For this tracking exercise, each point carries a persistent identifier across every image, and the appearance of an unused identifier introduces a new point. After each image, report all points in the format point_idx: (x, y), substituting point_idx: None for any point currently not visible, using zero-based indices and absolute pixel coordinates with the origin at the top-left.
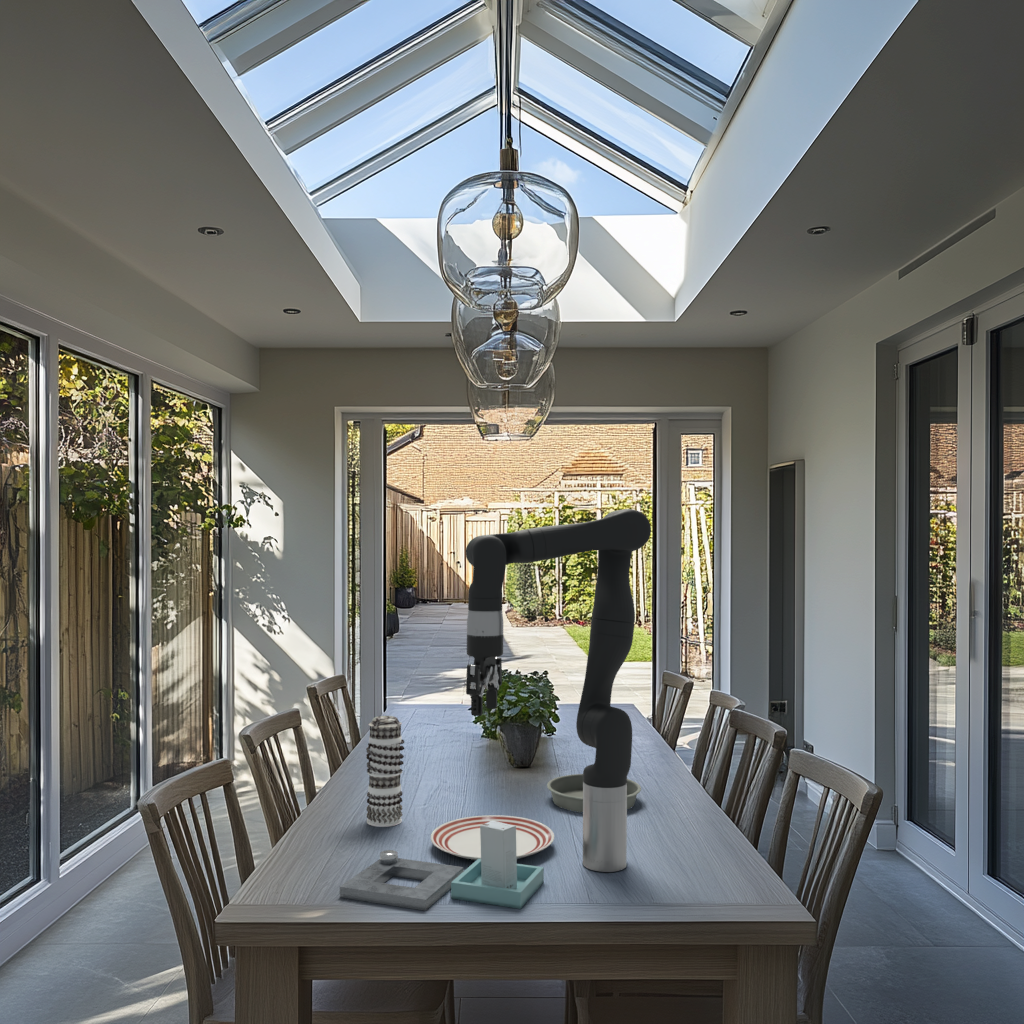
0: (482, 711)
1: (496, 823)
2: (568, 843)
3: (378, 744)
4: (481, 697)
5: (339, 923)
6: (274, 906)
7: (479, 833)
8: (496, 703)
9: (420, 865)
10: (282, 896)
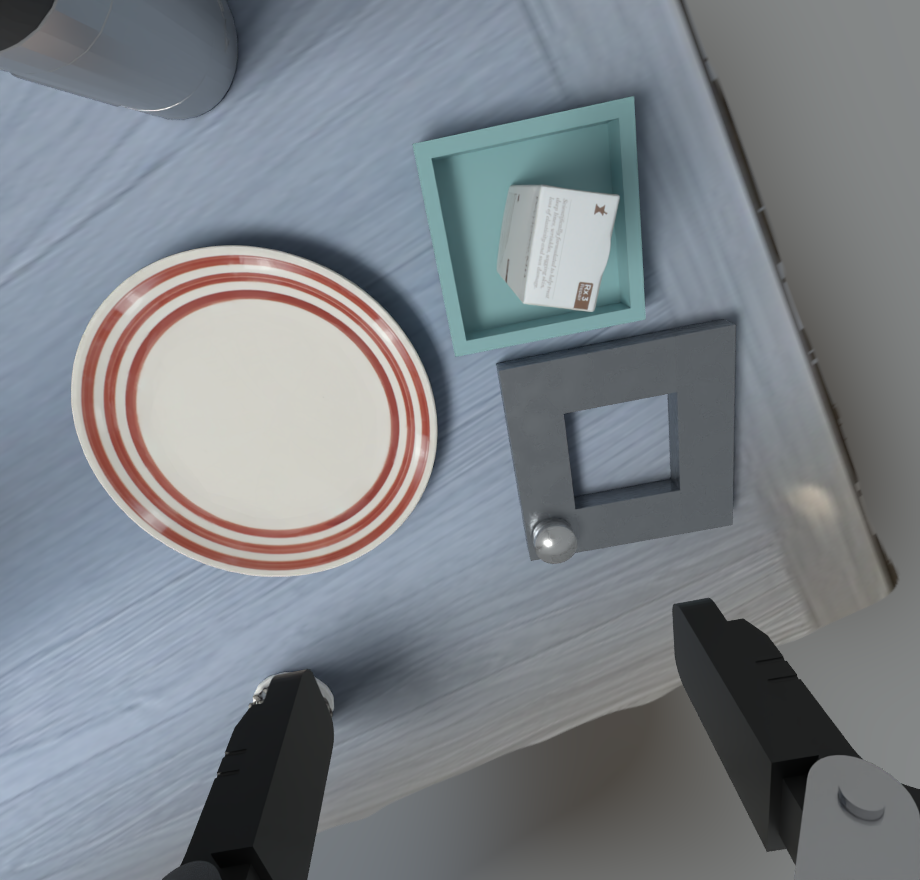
0: (690, 621)
1: (556, 266)
2: (84, 251)
3: None
4: (810, 757)
5: (842, 431)
6: (803, 575)
7: (228, 491)
8: (281, 704)
9: (542, 463)
10: (755, 594)
